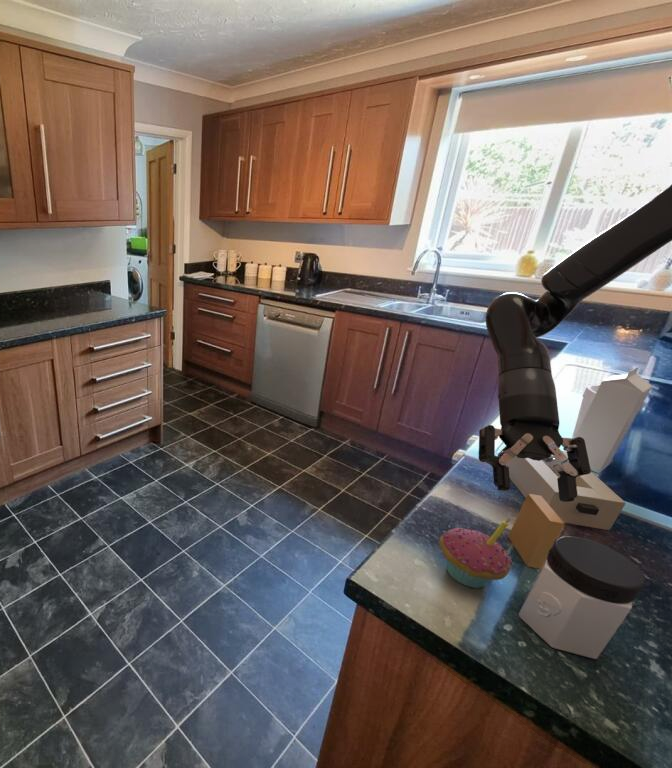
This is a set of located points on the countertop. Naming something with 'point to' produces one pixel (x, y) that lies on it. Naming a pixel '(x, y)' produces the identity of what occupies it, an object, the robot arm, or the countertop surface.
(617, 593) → the jar
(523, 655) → the countertop surface
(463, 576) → the cupcake
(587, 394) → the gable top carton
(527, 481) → the toaster
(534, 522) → the toast
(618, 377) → the milk
